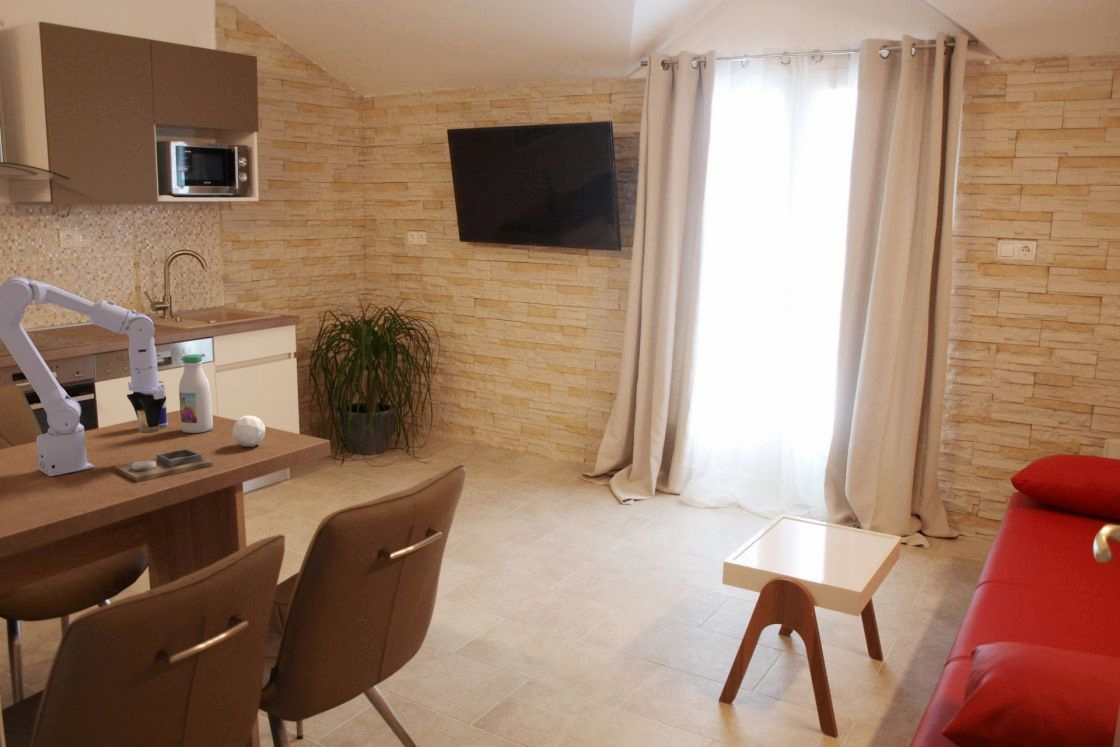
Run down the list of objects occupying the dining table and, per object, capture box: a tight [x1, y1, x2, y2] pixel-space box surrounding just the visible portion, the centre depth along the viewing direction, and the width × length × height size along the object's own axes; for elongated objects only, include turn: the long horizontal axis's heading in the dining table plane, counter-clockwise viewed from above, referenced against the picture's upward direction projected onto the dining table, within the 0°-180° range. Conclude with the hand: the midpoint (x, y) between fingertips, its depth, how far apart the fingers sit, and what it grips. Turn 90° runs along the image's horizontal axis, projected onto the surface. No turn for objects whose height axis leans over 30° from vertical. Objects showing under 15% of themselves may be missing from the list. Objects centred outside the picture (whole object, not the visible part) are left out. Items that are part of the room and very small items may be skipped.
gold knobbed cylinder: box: [137, 409, 161, 434], centre depth 216 cm, size 4×4×5 cm
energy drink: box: [159, 380, 169, 430], centre depth 248 cm, size 5×5×12 cm
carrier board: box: [114, 448, 214, 483], centre depth 211 cm, size 17×12×2 cm
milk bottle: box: [178, 353, 214, 434], centre depth 244 cm, size 8×8×20 cm
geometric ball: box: [231, 415, 266, 447], centre depth 230 cm, size 8×8×8 cm
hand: (148, 424), depth 216 cm, fingers closed on gold knobbed cylinder, 4 cm apart
